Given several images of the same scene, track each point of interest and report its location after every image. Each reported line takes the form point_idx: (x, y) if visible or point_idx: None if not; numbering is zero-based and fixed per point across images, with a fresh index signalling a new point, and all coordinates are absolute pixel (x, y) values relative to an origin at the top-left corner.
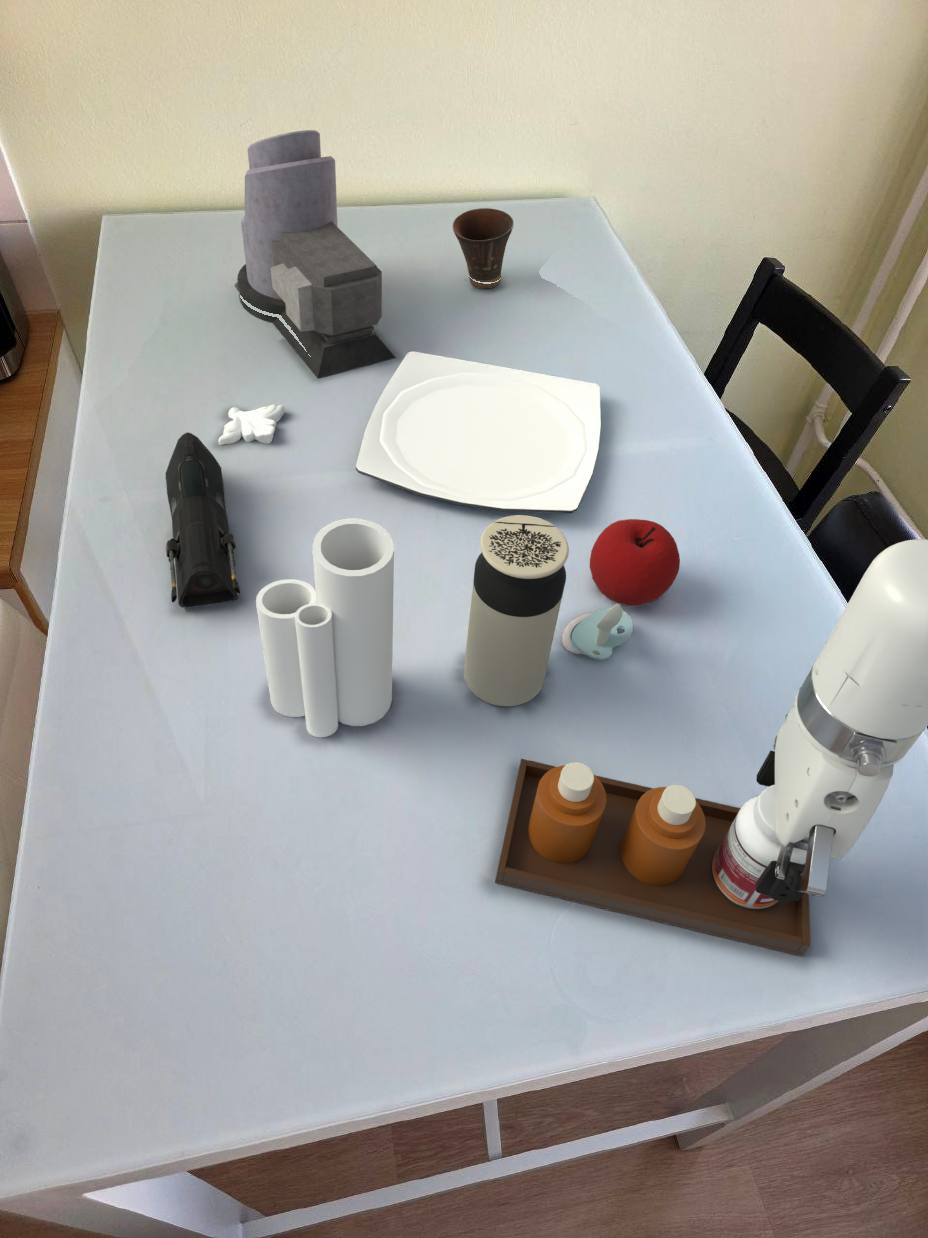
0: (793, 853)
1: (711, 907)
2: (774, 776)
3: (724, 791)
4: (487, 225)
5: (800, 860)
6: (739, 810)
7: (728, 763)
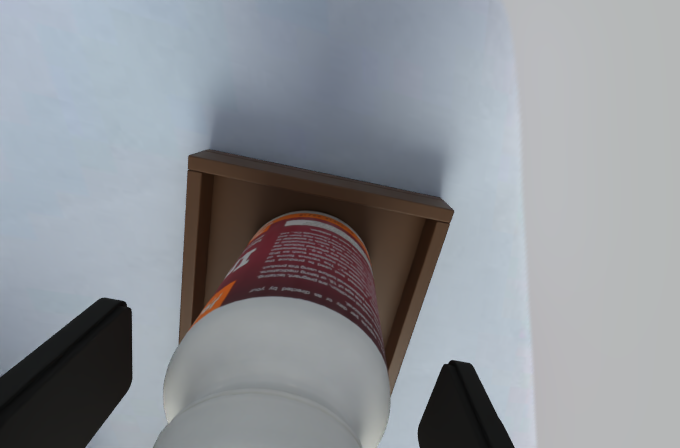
0: (369, 417)
1: None
2: (94, 408)
3: (146, 262)
4: None
5: (380, 380)
6: (187, 281)
7: (84, 245)
